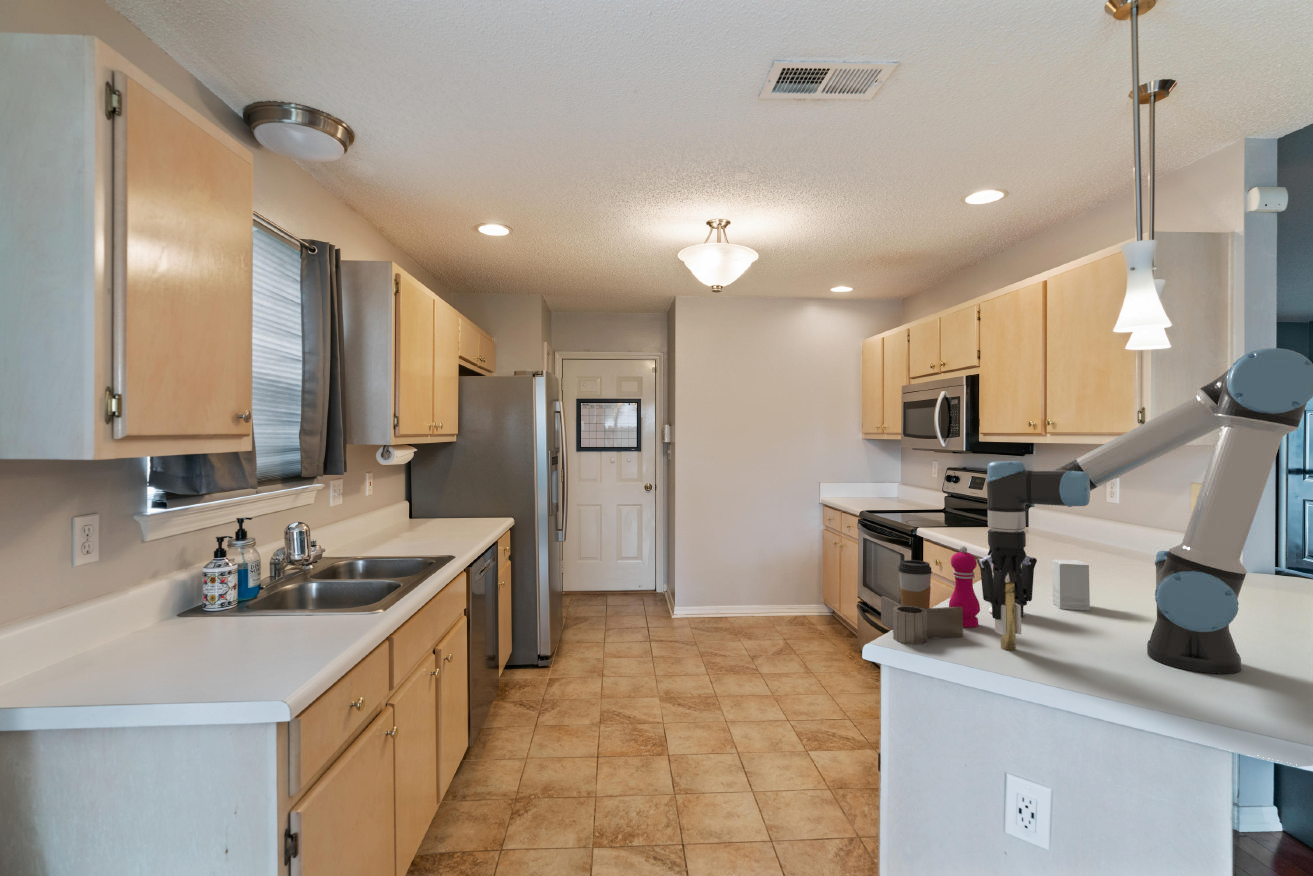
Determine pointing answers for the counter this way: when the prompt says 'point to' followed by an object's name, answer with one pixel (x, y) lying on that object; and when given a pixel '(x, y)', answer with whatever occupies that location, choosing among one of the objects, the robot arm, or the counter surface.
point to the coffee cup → (915, 583)
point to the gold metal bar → (1009, 617)
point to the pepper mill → (965, 587)
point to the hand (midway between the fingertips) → (1008, 632)
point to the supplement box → (1071, 584)
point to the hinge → (921, 622)
